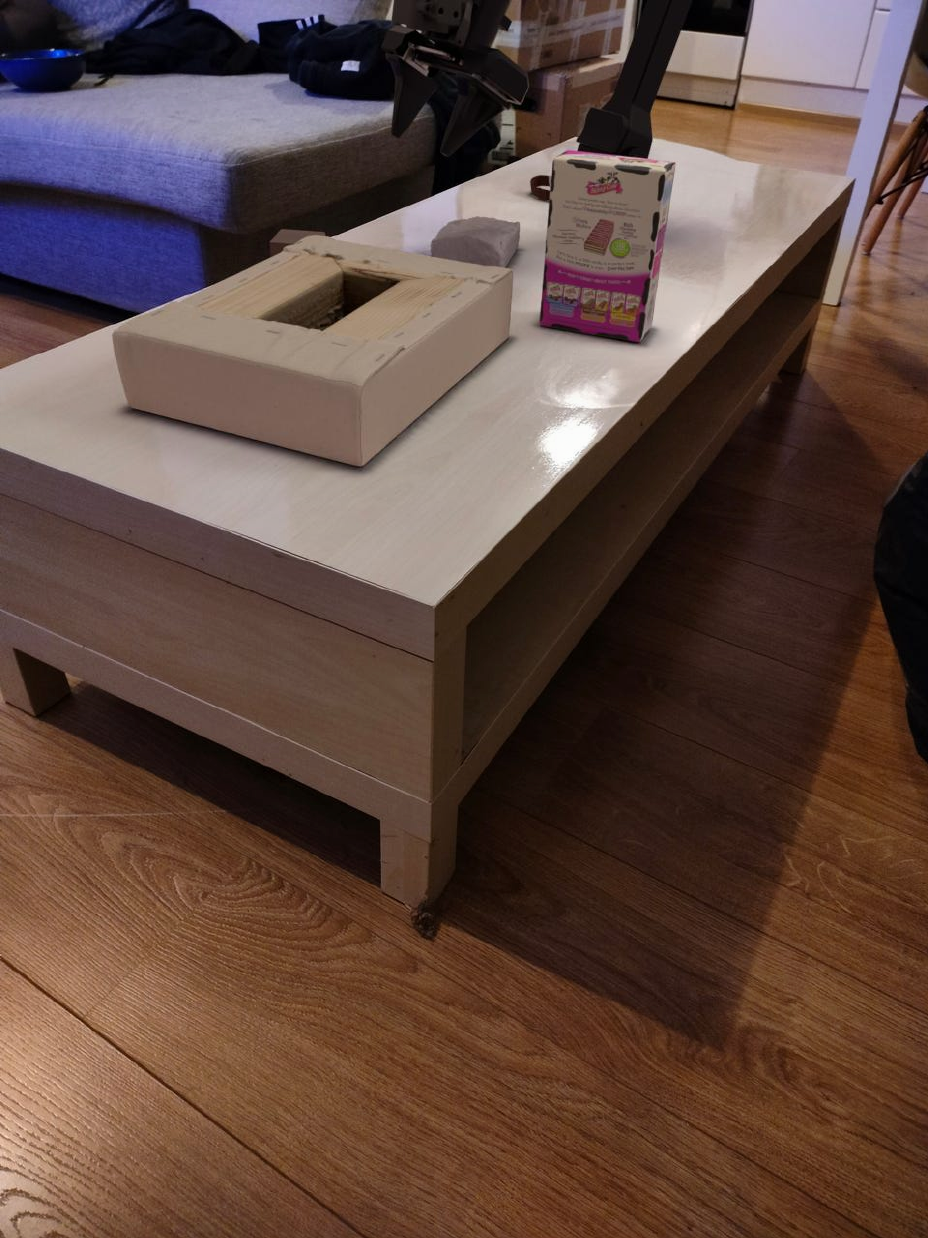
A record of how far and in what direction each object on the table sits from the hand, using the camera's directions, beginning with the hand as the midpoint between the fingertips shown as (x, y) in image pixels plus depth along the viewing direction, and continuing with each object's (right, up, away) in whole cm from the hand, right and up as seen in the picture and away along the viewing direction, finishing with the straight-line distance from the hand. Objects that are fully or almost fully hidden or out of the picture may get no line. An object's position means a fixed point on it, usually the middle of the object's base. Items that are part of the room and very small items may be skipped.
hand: (418, 145), depth 102 cm
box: (-7, -27, -12) cm, 30 cm away
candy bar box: (+19, -20, -1) cm, 27 cm away
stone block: (+6, -6, +17) cm, 19 cm away
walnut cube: (-14, -12, +7) cm, 20 cm away
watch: (+18, +12, +41) cm, 46 cm away
